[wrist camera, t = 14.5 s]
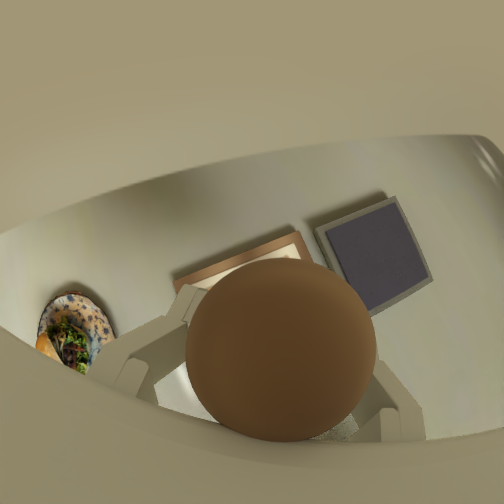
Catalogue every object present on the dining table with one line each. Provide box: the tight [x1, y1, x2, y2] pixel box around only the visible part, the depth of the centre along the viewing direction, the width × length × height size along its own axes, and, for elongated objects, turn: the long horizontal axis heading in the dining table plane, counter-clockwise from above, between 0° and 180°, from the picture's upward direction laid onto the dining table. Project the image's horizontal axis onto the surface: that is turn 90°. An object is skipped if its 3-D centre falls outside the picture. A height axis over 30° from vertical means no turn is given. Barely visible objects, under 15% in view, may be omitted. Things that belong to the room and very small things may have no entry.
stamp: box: [185, 258, 376, 442], centre depth 10 cm, size 5×5×12 cm
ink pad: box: [313, 196, 434, 317], centre depth 27 cm, size 10×10×2 cm
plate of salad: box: [36, 291, 116, 375], centre depth 23 cm, size 12×12×8 cm
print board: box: [173, 230, 314, 295], centre depth 26 cm, size 13×13×1 cm
